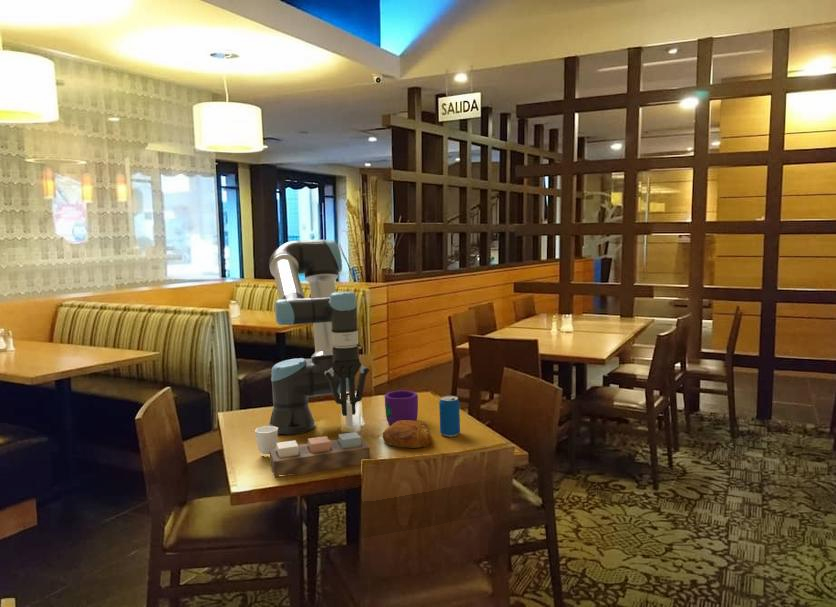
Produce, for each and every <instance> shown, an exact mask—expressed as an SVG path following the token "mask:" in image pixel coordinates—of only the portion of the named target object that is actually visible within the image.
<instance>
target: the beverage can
mask: <svg viewBox="0 0 836 607" xmlns="http://www.w3.org/2000/svg"><path fill="white" fill-rule="evenodd" d="M458 397H459V396H455V395H444V396H441V397H440V400H439V402H438V404H439V409H438V410H439V432H440V434H441V435H442V436H443V437H446V436H447V437H448V438H449V437H450V438H452V437H453V436H454V437H456V436H458V435H459V434H460V433H461V418H460V416H461V415H460V414H461V413H460V401H459V398H458ZM454 437H453V438H454Z"/></svg>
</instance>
